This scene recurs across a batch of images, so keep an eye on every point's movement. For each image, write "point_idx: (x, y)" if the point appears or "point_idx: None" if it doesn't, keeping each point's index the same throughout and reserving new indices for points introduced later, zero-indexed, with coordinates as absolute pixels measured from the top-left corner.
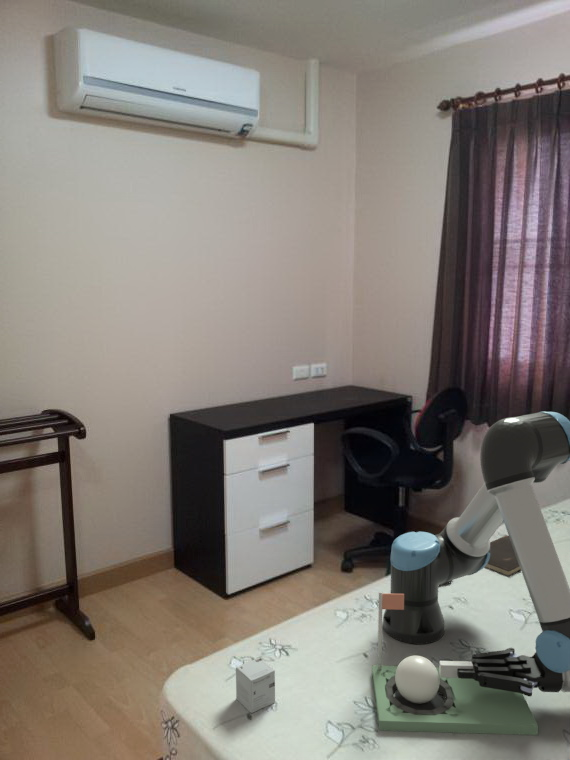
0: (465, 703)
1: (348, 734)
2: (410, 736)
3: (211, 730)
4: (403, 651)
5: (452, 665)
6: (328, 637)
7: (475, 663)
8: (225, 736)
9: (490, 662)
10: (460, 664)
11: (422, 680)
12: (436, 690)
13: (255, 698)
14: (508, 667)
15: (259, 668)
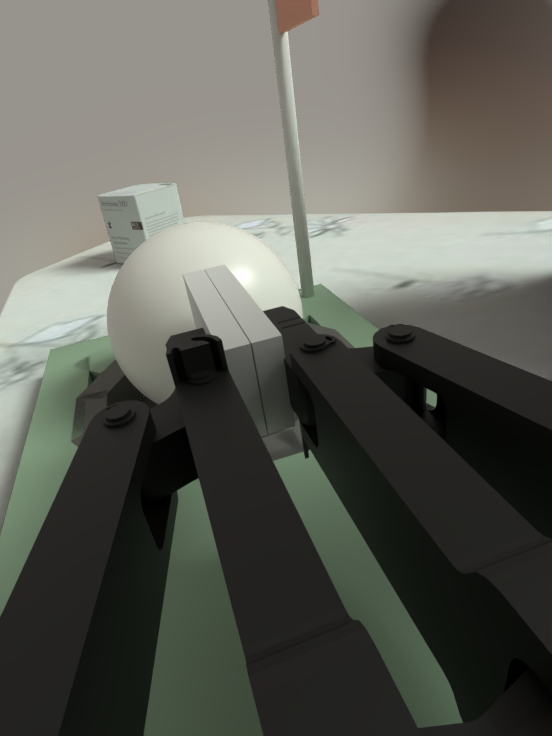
0: (178, 527)
1: (50, 345)
2: (24, 435)
3: (74, 257)
4: (510, 321)
5: (192, 295)
6: (424, 240)
7: (214, 336)
8: (58, 266)
9: (353, 429)
10: (215, 310)
11: (110, 296)
12: (155, 378)
13: (114, 237)
14: (322, 632)
15: (136, 189)
